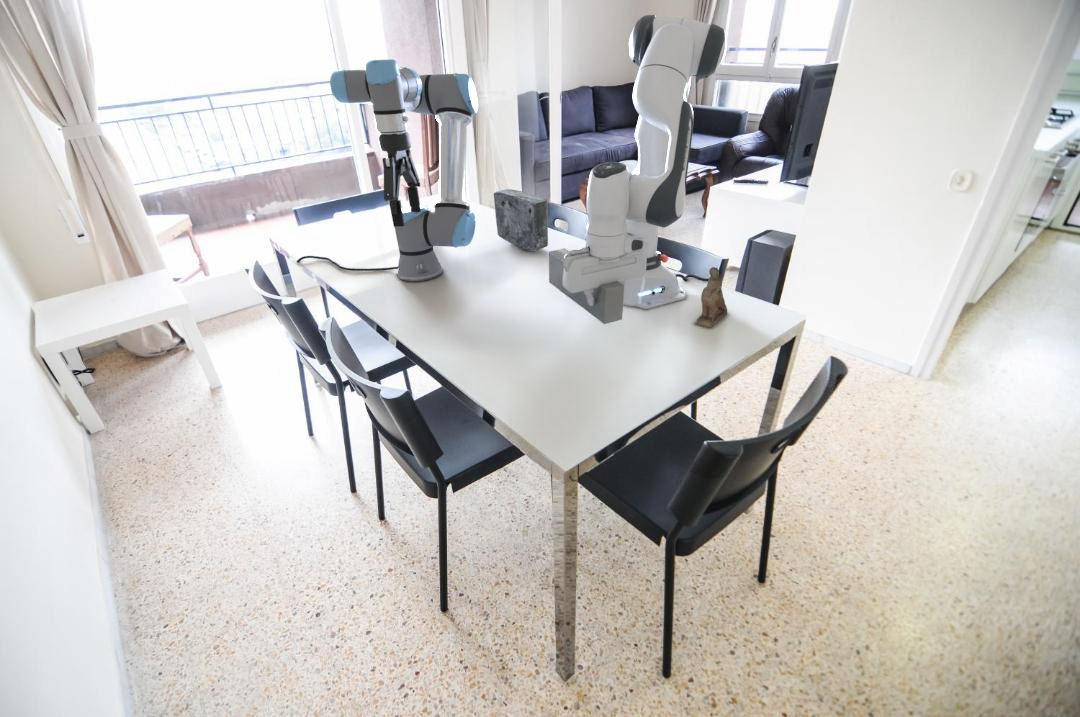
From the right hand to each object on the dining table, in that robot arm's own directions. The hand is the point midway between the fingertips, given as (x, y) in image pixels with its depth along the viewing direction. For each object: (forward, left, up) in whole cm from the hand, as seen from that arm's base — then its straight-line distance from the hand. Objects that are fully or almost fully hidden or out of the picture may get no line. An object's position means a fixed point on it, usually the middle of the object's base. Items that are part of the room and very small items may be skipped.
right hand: (603, 301), depth 115 cm
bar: (+2, -9, -3) cm, 10 cm away
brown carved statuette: (-37, -11, -16) cm, 42 cm away
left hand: (+41, -41, +13) cm, 59 cm away
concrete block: (-1, -89, -16) cm, 90 cm away
